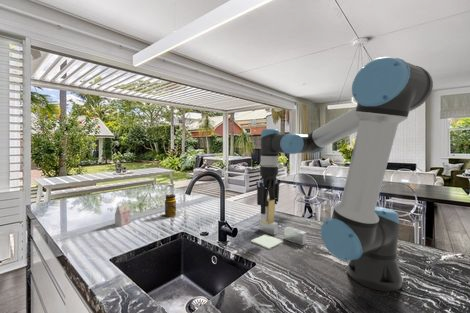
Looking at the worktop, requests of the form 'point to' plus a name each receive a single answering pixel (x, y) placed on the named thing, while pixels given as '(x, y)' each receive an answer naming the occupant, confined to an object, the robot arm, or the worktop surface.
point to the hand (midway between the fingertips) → (267, 219)
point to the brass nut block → (270, 211)
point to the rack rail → (285, 232)
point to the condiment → (170, 207)
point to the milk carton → (122, 215)
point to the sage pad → (267, 241)
